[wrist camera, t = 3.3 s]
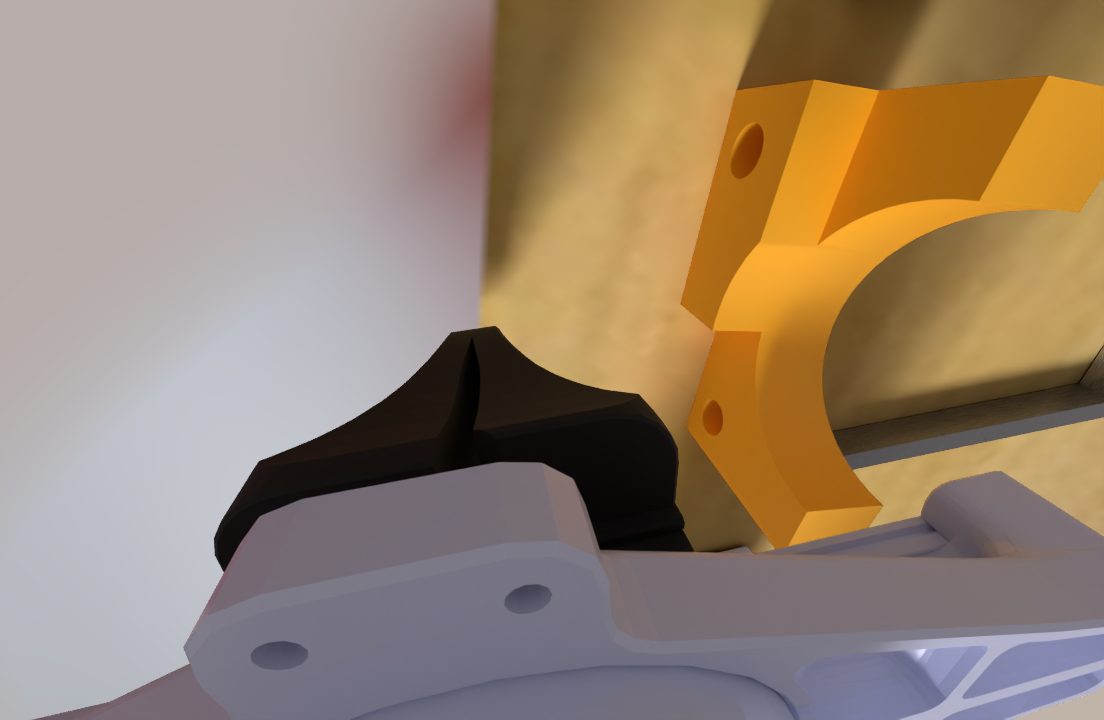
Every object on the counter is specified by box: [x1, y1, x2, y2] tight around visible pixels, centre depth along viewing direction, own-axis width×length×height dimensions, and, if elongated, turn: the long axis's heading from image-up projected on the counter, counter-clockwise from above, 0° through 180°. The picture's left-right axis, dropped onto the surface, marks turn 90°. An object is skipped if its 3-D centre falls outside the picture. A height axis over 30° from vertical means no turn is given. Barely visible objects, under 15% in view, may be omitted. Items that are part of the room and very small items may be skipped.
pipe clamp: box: [681, 75, 1104, 549], centre depth 12 cm, size 12×4×6 cm, turn 174°
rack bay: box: [832, 347, 1104, 470], centre depth 16 cm, size 18×19×2 cm
